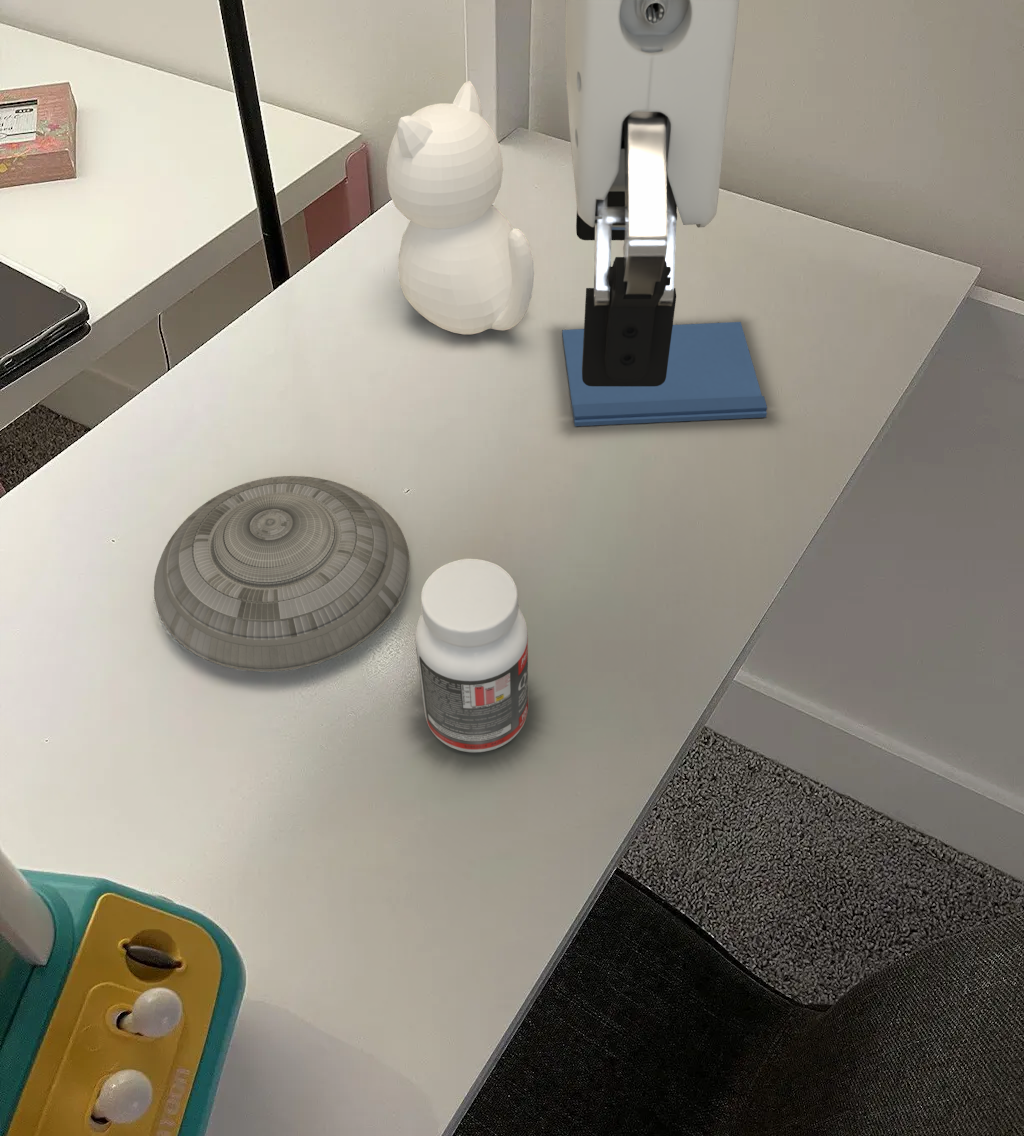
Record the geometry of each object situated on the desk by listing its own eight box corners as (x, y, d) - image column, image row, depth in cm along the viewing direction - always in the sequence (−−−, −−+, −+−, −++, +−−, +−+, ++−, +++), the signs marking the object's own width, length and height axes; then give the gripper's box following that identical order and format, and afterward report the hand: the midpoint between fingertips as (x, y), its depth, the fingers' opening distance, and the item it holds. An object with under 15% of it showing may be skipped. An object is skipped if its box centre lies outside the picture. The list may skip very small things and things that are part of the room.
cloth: (739, 326, 82) (741, 318, 82) (766, 417, 76) (767, 409, 76) (562, 334, 82) (562, 325, 81) (574, 426, 76) (574, 418, 75)
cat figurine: (452, 253, 88) (439, 53, 76) (574, 318, 83) (582, 115, 71) (368, 306, 84) (341, 104, 72) (492, 378, 79) (485, 174, 67)
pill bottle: (544, 736, 61) (547, 620, 53) (445, 770, 60) (433, 656, 52) (505, 659, 64) (502, 538, 56) (410, 689, 63) (394, 570, 55)
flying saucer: (325, 724, 62) (310, 663, 57) (108, 630, 66) (78, 566, 61) (456, 544, 70) (451, 478, 65) (254, 470, 74) (237, 403, 69)
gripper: (834, -83, 28) (730, 448, 41) (753, -293, 38) (691, 189, 52) (527, -82, 28) (525, 448, 41) (528, -292, 38) (527, 190, 52)
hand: (617, 304), depth 46 cm, fingers open, 9 cm apart
